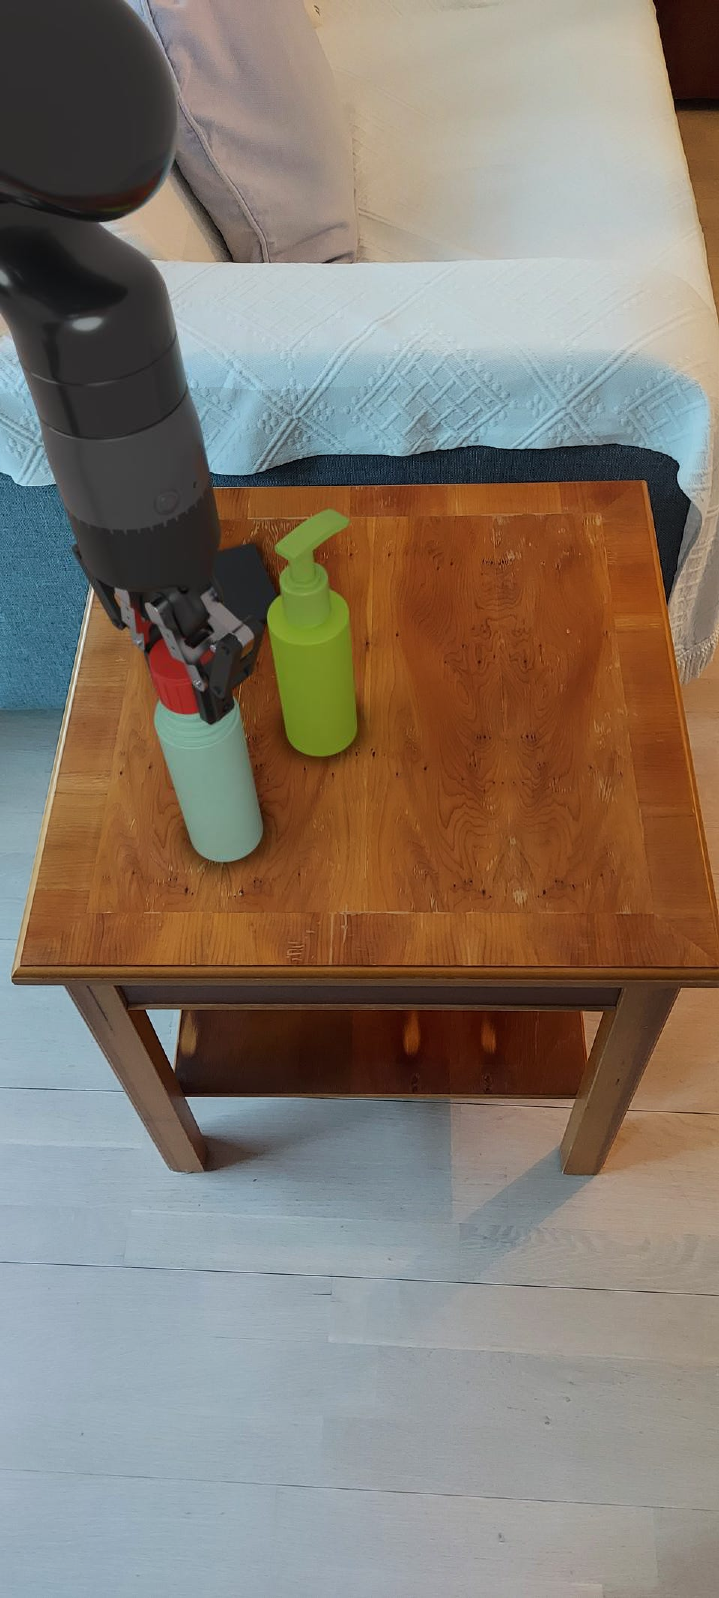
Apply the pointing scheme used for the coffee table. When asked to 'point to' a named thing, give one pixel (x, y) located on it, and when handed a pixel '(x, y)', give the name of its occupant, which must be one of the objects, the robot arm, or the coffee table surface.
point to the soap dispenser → (313, 644)
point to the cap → (173, 680)
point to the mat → (244, 582)
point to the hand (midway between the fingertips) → (193, 697)
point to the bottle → (212, 781)
